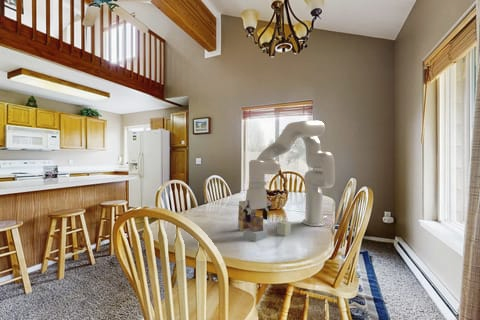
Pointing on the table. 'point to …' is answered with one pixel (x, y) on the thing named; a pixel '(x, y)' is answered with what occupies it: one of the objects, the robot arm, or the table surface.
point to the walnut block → (256, 224)
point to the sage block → (283, 227)
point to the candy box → (243, 217)
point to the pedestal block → (255, 235)
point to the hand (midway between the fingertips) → (256, 220)
